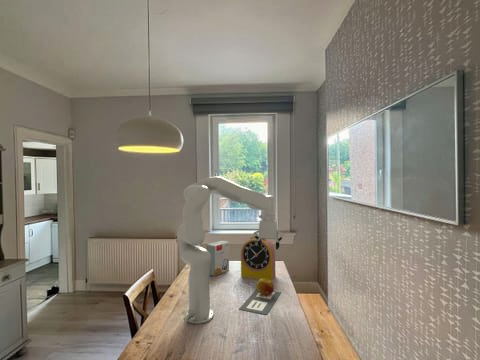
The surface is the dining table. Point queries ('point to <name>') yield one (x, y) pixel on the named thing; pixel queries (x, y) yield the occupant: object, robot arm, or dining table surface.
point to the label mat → (260, 302)
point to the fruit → (265, 286)
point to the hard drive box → (219, 257)
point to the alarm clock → (258, 259)
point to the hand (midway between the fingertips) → (268, 248)
